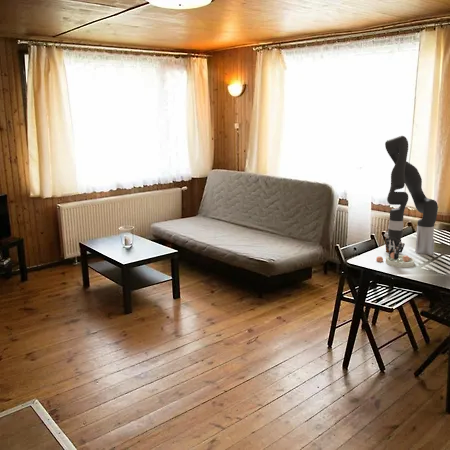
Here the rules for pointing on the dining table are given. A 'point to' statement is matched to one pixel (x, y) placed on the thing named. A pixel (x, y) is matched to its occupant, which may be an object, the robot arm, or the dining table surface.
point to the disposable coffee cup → (385, 241)
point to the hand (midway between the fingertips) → (393, 258)
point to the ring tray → (399, 261)
